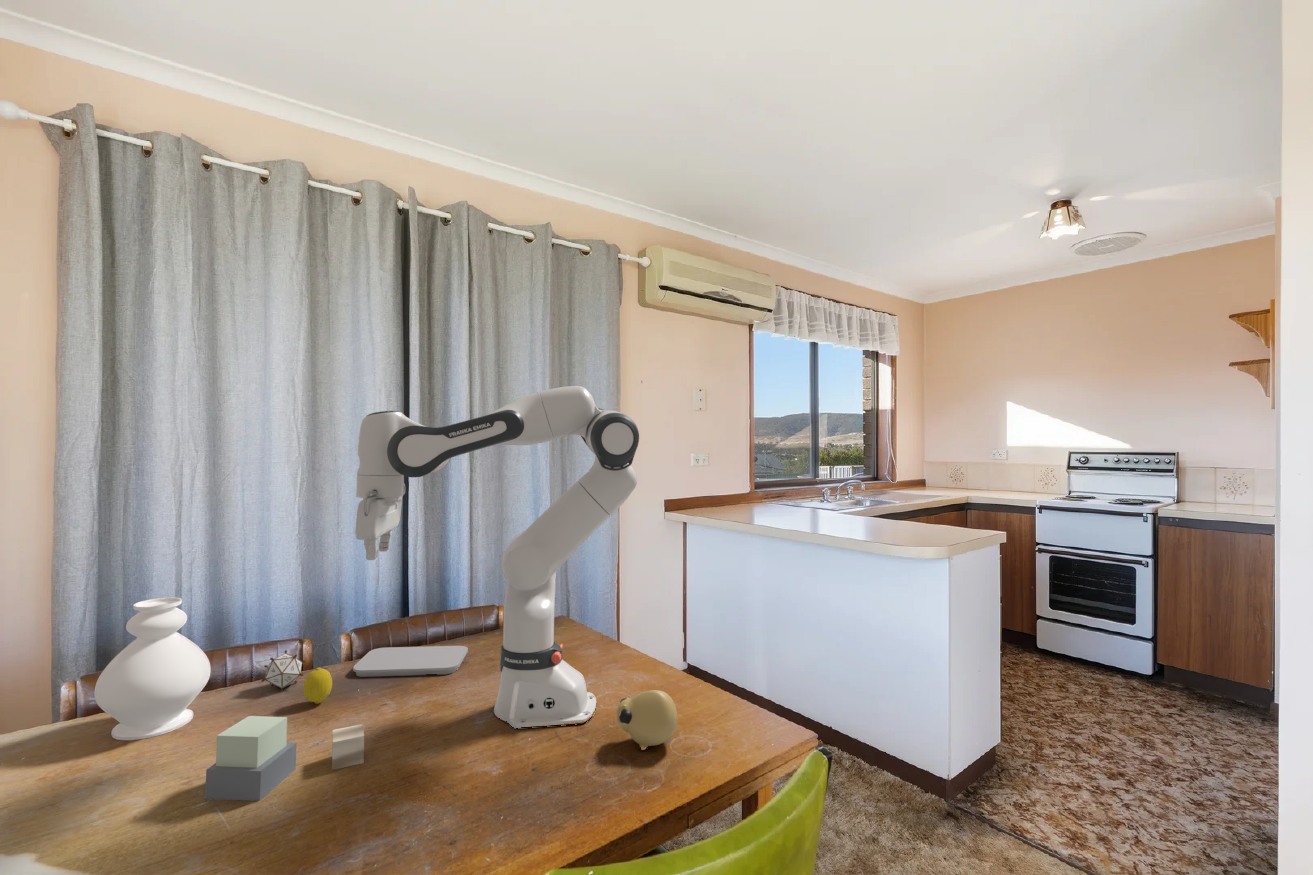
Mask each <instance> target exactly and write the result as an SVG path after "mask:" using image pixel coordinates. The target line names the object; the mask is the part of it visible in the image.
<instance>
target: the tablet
mask: <svg viewBox="0 0 1313 875" xmlns="http://www.w3.org/2000/svg"><path fill="white" fill-rule="evenodd" d="M468 652H469V648H468V647H467V646H464V645H438V646H437V645H435V646H433V645H431V646H430V645H429V646H428V645H427V646H396V647H395V646H394V647H393V646H391V647H389V646H387V647H379V648H374V649H371V650H369V651H368V652H367V653H366V654H364V656H362V657H361V659H360V660H358V661H357V662H356V663H355V665H353V670H352V671H353V672H355V675H356V676H358V677H359V678H361V677H362V678H363V677H365V678H366V677H399V676H400V677H401V676H403V677H404V676H427V675H426V674H437V675H449V674H453V672H454V673H455V671H456V670H457V671H458V670H459V668H460V666H461V665H462V662H463V661H464V659H465V657H466V655H467V654H468ZM458 667H459V668H458ZM457 671H456V672H457Z"/></svg>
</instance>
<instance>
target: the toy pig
mask: <svg viewBox="0 0 1313 875" xmlns="http://www.w3.org/2000/svg"><path fill="white" fill-rule="evenodd" d="M616 723H617V725H618V726H619V728H620V729H621V730H622V731H624V732H626V733H628V735H629V736H630V738H631V739H632V740H633V741H634V742H635V743H637V744H638V745H639V748H640V747H643V748H645V747H648V746H649V747H653V746H654V747H655V746H658V745H661V744H663V745H664V746H670V745H671V743H672V735H673V734H674V733H675V730H676V728H677V725H678V713H677V706H676V704H675V702H674V699H673V698H672V697H671V696H670V695H669V694H668V693H667V692H665V691H663V690H660V689H659V690H658V689H657V690H656V689H651V690H645V691H641V692H639V693H637V694H635V695H633V696H632V697H628V696H626V697H624V698H622V699H621V700H620V701H619V704H618V705H617V709H616ZM649 747H648V748H649Z"/></svg>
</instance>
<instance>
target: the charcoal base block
mask: <svg viewBox="0 0 1313 875" xmlns="http://www.w3.org/2000/svg"><path fill="white" fill-rule="evenodd" d="M296 768H297V742H288V741H287V742H286V746H285V747H284V748H283V749H281V750H280V751H279V752H277V753H276V754H275V755H273V756H272V757H271V758H269V759H268V760H267V761H265V762H264V763H263V764H262V765H260V766H259V767H258V768H249V767H222V766H216V762H215V763H214V764H212V765H210V766H209V767H208V768H207V769H206V770H205V771H206V772H205V792H204V794H205V795H204V796H205V797H204V799H205V800H218V801H219V800H222V801H225V800H228V801H261V800H263V799H264V798H265V797H266V796H267V795H268V794H269V793H270V792H271V791H273V790H274V789H275V788H277V787H278V786H279V784H281V783H282V782H283V781H284V780H286V779H287V777H289V776H290V775H291V774H292V773H293V772H295V771H296Z"/></svg>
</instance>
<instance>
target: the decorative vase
mask: <svg viewBox="0 0 1313 875" xmlns="http://www.w3.org/2000/svg"><path fill="white" fill-rule="evenodd" d="M182 602H183V599H182V598H181V597H177V596H176V597H175V596H174V597H173V596H172V597H159V598H158V597H157V598H150V599H147V600H142V601H138V602H135V603H134V604H133V606H132V607H133V608H132V609H133V610H134V611H136V612H137V613H136V614H134V615H133V616H132V617H130V618H129V620H128V621H127V622H126V625H125V629H126V631H127V632H128V633H129V634H130V635H132V636H134V637H136V638H135V639H134V640H132V641H131V642H130V643H129V644H128V645H126V646H125V647H124V648H123V649H122V650H121V651H120V652H118V653H117V655H116V656H114V658H112V659H111V661H110V662H109V663H108V664H107V665H106V667H105V668H104V669H103V670H102V672H101V673H100V675H98V676H99V677H98V678H97V681H96V684H95V687H94V694H93V695H94V696H93V697H94V700H95V702H96V705H97V706H98V707H99V708H100V709H101V710H102V711H104V713H106V714H107V715H109V716H110V717H112V718H113V719H115V720H116V721H117V722H119V723H118V724H117V725H115V726H114V727H113V728H112V729H111V738H113V739H114V740H115V739H116V740H119V741H137V740H145V739H149V738H154V737H158V736H161V735H165V734H167V733H170V732H173V731H175V730H176V731H177V729H180V728H182V727H184V726H185V725H187V724H188V723H190V722H191V721H192V720H193V718H194V711H193V710H192V709H189V708H188V706H190V704H191V703H192V702H193V701H194V700H195V699H196V698H197V697H198V695H199V694H200V693H201V692H202V690H203V689H204V688H205V686H206V685H207V684H208V681H209V679H210V677H211V670H212V669H211V663H210V660H209V657H208V656H207V654H206V653H205V652H204V651H203V649H201V648H200V647H199V645H197V644H196V643H195V642H193V641H192V640H190V639H188V637H186V636H184V635H183V634H181V633H179V632H178V631H179V630H180V629H181V628H182V627H183V626H184V625H185V624H186V623H187V620H188V615H187V613H186V612H185V611H183V610H182V609H180V608H178V607H177V606H180V605H182Z"/></svg>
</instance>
